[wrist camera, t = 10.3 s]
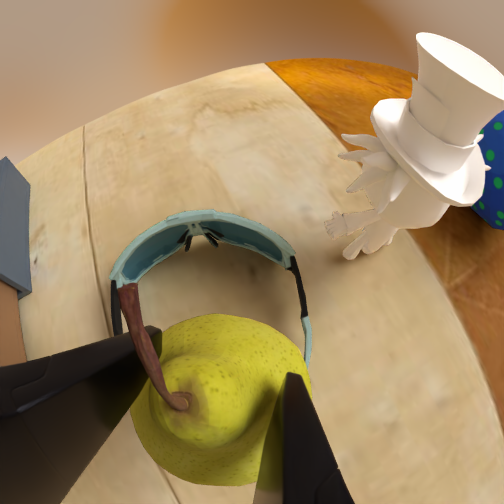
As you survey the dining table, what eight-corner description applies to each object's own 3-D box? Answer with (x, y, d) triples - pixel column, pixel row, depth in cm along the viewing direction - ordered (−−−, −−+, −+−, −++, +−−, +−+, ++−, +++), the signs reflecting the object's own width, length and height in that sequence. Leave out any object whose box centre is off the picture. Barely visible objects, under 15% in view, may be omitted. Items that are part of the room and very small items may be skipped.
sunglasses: (285, 223, 25) (291, 195, 20) (315, 402, 20) (330, 416, 16) (125, 246, 25) (99, 225, 20) (140, 418, 20) (114, 432, 15)
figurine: (390, 199, 26) (467, 35, 10) (430, 267, 23) (562, 125, 7) (293, 230, 25) (322, 13, 9) (330, 314, 22) (467, 133, 5)
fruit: (288, 470, 12) (333, 634, 1) (156, 444, 12) (-36, 491, 2) (308, 343, 15) (408, 204, 4) (180, 324, 15) (30, 179, 5)
